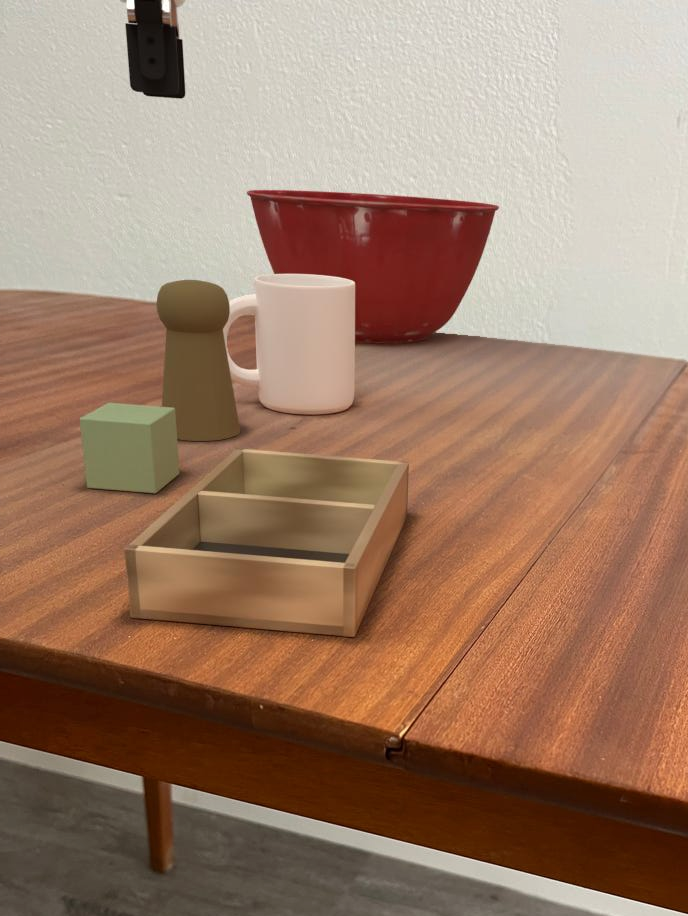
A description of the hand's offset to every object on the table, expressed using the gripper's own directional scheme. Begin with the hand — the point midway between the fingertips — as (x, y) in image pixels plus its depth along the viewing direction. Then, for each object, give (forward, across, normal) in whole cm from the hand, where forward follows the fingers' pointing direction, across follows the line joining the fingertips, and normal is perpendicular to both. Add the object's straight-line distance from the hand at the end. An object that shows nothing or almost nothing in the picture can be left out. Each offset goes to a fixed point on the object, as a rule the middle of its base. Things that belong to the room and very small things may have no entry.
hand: (159, 95), depth 75 cm
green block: (+23, +20, -2) cm, 30 cm away
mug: (+23, -2, +9) cm, 25 cm away
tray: (+23, +34, +7) cm, 42 cm away
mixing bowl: (+23, -39, +20) cm, 50 cm away
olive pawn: (+23, +7, +2) cm, 24 cm away
